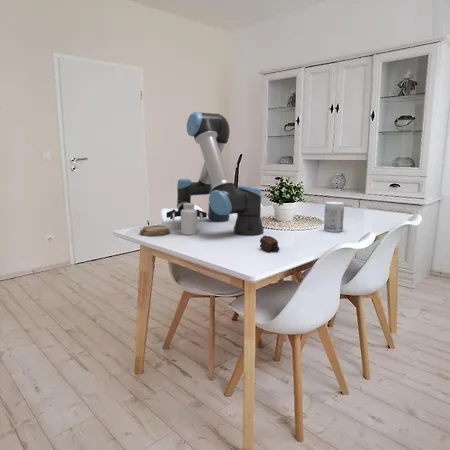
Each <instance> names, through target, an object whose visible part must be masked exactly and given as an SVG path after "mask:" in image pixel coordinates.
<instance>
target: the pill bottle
mask: <svg viewBox="0 0 450 450" xmlns="http://www.w3.org/2000/svg"><path fill="white" fill-rule="evenodd" d="M183 208H184V209H182V210H181V217H180V234H181V235H183V236H194V235H196V234H197V233H198V217H197V211H196V210H197V209H195V203H193V202H191V203H184V204H183Z"/></svg>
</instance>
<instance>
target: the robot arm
mask: <svg viewBox="0 0 450 450" xmlns="http://www.w3.org/2000/svg"><path fill="white" fill-rule="evenodd" d="M186 122H187V123H186V133H187V134H188V136H190V137H193V139H194V141H195V143H196V144H198V145H199V147H200V151H201V154H202V157H203V160H204V163H203V165H202V169H201V172H200V174H199V175H200V176H199V178H198V181H192V180H191V179H190V178H179V179H178V180H177V183H176V184H177V186H176V189H177V201H176V209H172V210H169V211H167V212H166V218H167V219H168V218H169V219H170V220H172V221H173V222H175V220H176V219H175V218H176V217H179V218H181V210H182V209H184V208H183V204H184V203H192V199H191V198H192V197H193V196H203V195H204V196H206V195H209V196H208V201H209V203H208V205H209V204H210V207H211V209H212V210H213V211H214V212H215V213H217V214H218V215H228V214H229V215H232V214H234V215H235V214H237V215H236V219H235V223H234V226H233V233H234V234H237V235H240V236H241V235H242V236H257V235H262V234H263V233H264V230H265V229H264V227H263V221H262V219H261V214H262V213H261V209H262V190H261V188H259V187H254V186H253V187H251V186H246V185H245V186H243V185H242V186H241V185H238V186H237V187H236V186H235V183H234V182H232V181H230V178H229V175H228V171H227V169H226V166H225V162H224V159H223V156H222V153H223V151H224V147H225V145H226V144H227V143H228V142H229V139H230V131H231V130H230V125H229V122H228V120H227V118H226V117H225V116H224V115H222V114H220V113H212V112H211V113H209V112H201V111H199V112H198V111H194V112H192V113H191V114H190V115H189V116H188V118H187V121H186ZM209 199H210V200H209ZM195 210H196V211H197V218H199V219H200V222H203V219H204V218H207V217H208V212H205V211H202V210H200V209H195Z"/></svg>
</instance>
